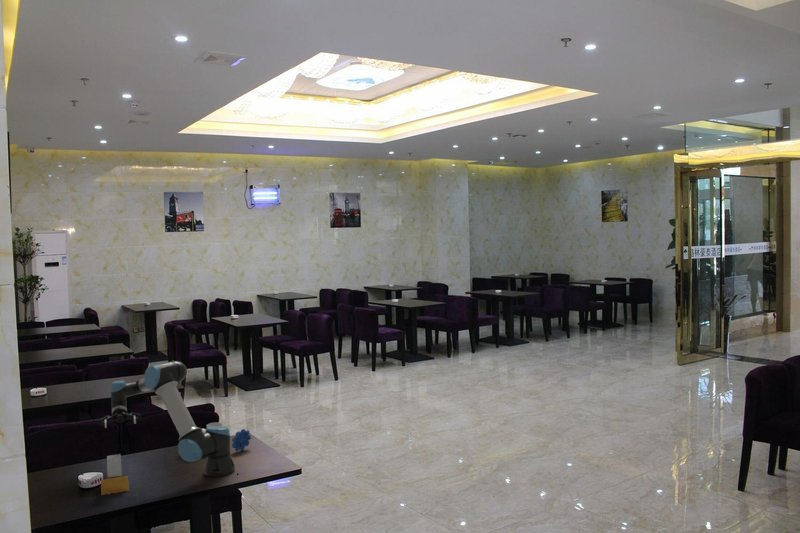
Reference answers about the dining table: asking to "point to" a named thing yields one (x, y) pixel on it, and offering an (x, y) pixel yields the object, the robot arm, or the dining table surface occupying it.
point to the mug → (214, 424)
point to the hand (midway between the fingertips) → (120, 423)
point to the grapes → (241, 440)
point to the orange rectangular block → (114, 485)
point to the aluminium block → (114, 466)
